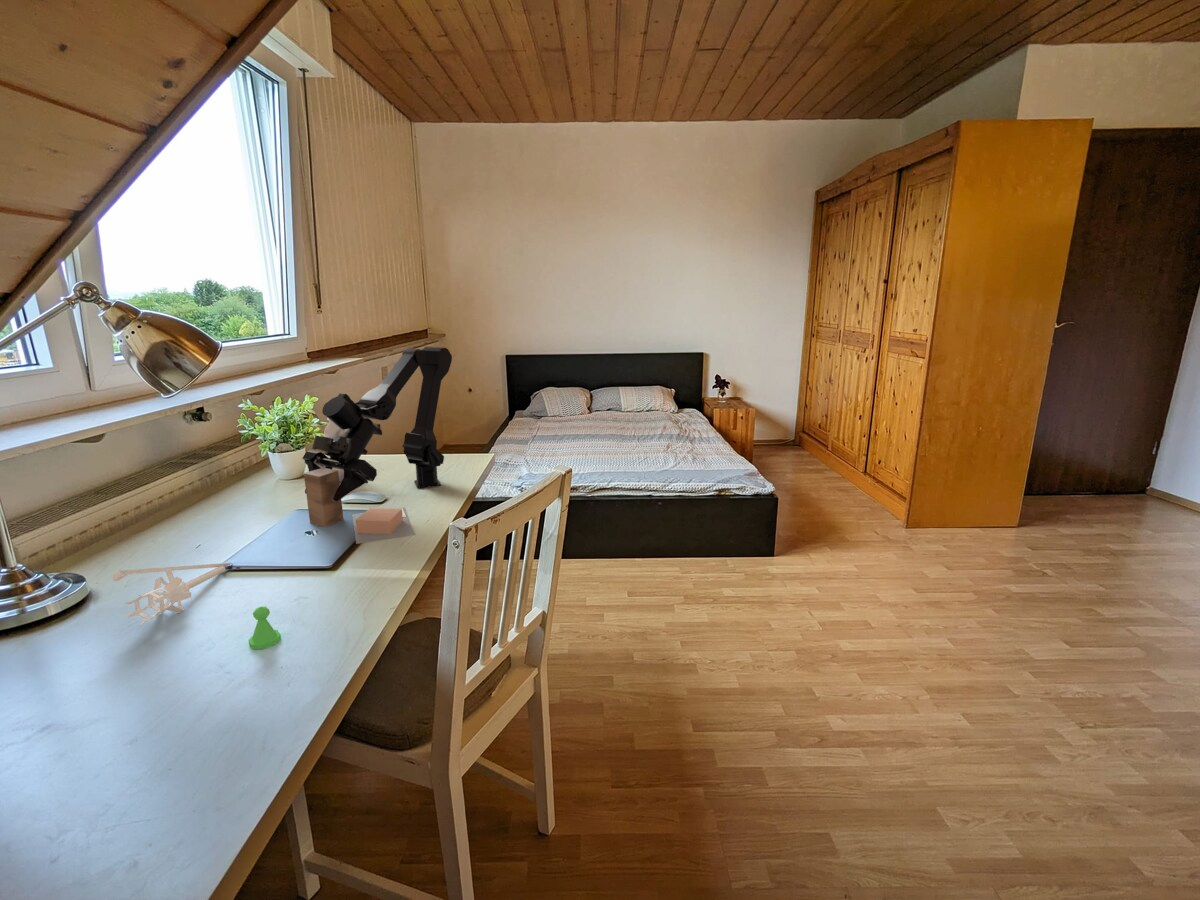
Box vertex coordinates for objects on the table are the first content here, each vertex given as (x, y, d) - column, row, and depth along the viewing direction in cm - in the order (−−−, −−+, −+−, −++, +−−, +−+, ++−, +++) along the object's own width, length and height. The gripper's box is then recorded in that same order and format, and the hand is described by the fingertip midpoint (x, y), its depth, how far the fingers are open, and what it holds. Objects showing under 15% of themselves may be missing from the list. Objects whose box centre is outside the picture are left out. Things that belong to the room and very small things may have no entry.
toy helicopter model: (236, 612, 109) (116, 634, 84) (219, 571, 110) (96, 581, 86) (264, 596, 109) (152, 614, 84) (246, 556, 110) (132, 561, 86)
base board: (352, 518, 134) (352, 513, 133) (404, 511, 139) (404, 506, 138) (356, 548, 118) (356, 542, 118) (415, 538, 123) (415, 533, 123)
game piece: (252, 636, 87) (246, 602, 86) (283, 631, 89) (278, 597, 87) (246, 652, 83) (240, 616, 82) (278, 646, 85) (273, 611, 83)
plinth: (371, 519, 130) (370, 508, 130) (402, 520, 130) (401, 508, 130) (356, 532, 123) (355, 520, 122) (390, 533, 123) (389, 521, 122)
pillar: (329, 519, 133) (322, 467, 129) (343, 523, 131) (338, 470, 127) (310, 526, 128) (303, 473, 125) (325, 530, 126) (319, 476, 123)
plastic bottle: (337, 477, 164) (330, 410, 158) (359, 478, 163) (352, 411, 157) (324, 484, 157) (316, 415, 152) (346, 485, 156) (338, 416, 151)
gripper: (304, 417, 131) (266, 474, 124) (362, 425, 124) (325, 486, 117) (336, 442, 140) (302, 496, 133) (391, 452, 132) (358, 510, 126)
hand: (320, 497), depth 127 cm, fingers open, 9 cm apart
